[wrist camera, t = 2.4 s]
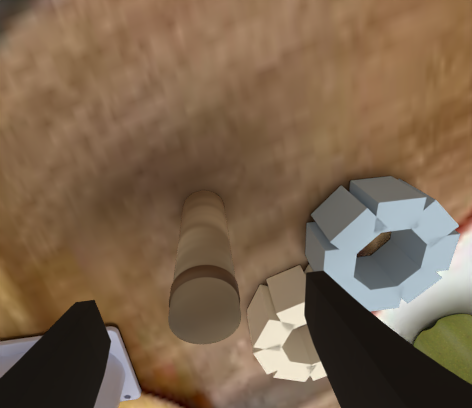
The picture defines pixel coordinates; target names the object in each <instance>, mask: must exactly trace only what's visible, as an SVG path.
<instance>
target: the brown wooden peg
mask: <svg viewBox="0 0 472 408" xmlns="http://www.w3.org/2000/svg"><path fill="white" fill-rule="evenodd" d="M169 308H170V310H169V318H168V322H169V326H170V329H171V330H172V332H173V333H174V334H175V335H176V336H177V337H179V338H180V339H182V340H184V341H186V342H189V343H194V344H211V343H215V342H219V341H221V340H223V339H225V338H227V337H229V336H230V335H231V334H233V333H234V332H235V330H236V329H237V328H238V326H239V324H240V321H241V312H240V296H239V290H238V284H237V281H236V279H235V273H234V266H233V260H232V253H231V247H230V240H229V234H228V227H227V221H226V214H225V208H224V203H223V201H222V199H221V198H220V197H219V196H218V195H217V194H215V193H213V192H211V191H197V192H195V193H193V194H191V195H190V196H189V197H188V198H187V199H186V200H185V202H184V205H183V212H182V220H181V227H180V235H179V242H178V250H177V257H176V265H175V273H174V280H173V284H172V286H171V292H170V299H169Z"/></svg>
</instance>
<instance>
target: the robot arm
mask: <svg viewBox="0 0 472 408" xmlns="http://www.w3.org/2000/svg"><path fill="white" fill-rule="evenodd" d="M304 316H305V319H306V323H307V326H308V329H309V332H310V336H311V339H312V342H313V345H314V347H315V349H316V352H317V354H318V356H319V359H320V361H321V363H322V365H323V368H324V370H325V372H326V375H327V377H328V379H329V381H330V384H331V386H332V388H333V391H334V393H335V395H336V397H337V400H338V402H339V404H340V406H341V408H472V384H470V383H468V382H467V381H465V380H464V379H462V378H460V377H459V376H457V375H456V374H454V373H453V372H451V371H449V370H448V369H446V368H445V367H443V366H442V365H440V364H439V363H438V362H436V361H435V360H433V359H432V358H430V357H429V356H427V355H426V354H424V353H423V352H421V351H420V350H418V349H417V348H416V347H414V346H413V345H412V344H410V343H409V342H408V341H406V340H405V339H404V338H402V337H401V336H400V335H398V334H397V333H396V332H394V331H393V330H392V329H391V328H389V327H388V326H387V325H386V324H384V323H383V322H382V321H381V320H379V319H378V318H377V317H376V316H375V315H373V314H372V313H371V312H370V311H369V310H367V309H366V308H365V307H364V306H363V305H361V304H360V303H359V302H358V301H357V300H356V299H355V298H353V297H352V296H351V295H350V294H349V293H348V292H347V291H346V290H345V289H343V288H342V287H341V286H340V285H339V284H338V283H337V282H336V281H335V280H334V279H333V278H331V277H330V276H329V275H328V274H327V273H326V272H325V271H315V272H307V273H306V287H305V307H304ZM140 395H141V389H140V386H139V384H138V381H137V378H136V376H135V373H134V370H133V368H132V365H131V362H130V360H129V357H128V354H127V352H126V349H125V346H124V344H123V341H122V338H121V336H120V333H119V330H118V329H117V328H115V327H113V326H109V327H105V325H104V322H103V320H102V317H101V315H100V312H99V310H98V307H97V305H96V303H95V300H90V301H82V302H76V303H75V304H74V305H73V306H71V307H70V308H69V309H68V310H67V311H66V312H65V313H64V314H63V315H62V316H61V318H60V319H59V320H58V321H57V322H56V323H55V324H54V325H53V326H52V327H51V328H50V329H49V330H48V331H47V332H46V333H45V334H44V335H43V336H36V337H29V338H22V339H14V340H7V341H0V408H118V407H119V402H121V401H127V400H134V399H138V398H139V397H140Z"/></svg>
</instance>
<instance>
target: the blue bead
mask: <svg viewBox="0 0 472 408" xmlns="http://www.w3.org/2000/svg"><path fill="white" fill-rule="evenodd" d="M311 216H312V217H313V219H314V220H315V221H316V222H309V223H307V226H306V248H305V256H306V258H307V260H308V262H309V264H310V266H311V268H312V269H313V271H314V272H315V271H325V272H326V273H327V274H328V275H329V276H330V277H331V278H333V279H334V280H335V281H336V282H337V283H338V284H339V285H340V286H341V287H342V288H343V289H345V290H346V291H347V292H348V293H349V294H350V295H351V296H352V297H353V298H355V299H356V300H357V301H358V302H359V303H360V304H361V305H363V306H364V307H365V308H366V309H367V310H369V311H377V310H384V309H391V308H398V307H399V304H400V300H401V298H402V299H403V300H404V301H405V302H407V303H409V302H411V301H412V300H413V299H415V298H416V297H417V296H419V295H420V294H421V293H423V292H424V291H425V290H427V289H428V288H429V287H431V286H432V285H433V284H434V283H436V282H437V281H438V280H440V279H441V278H442V277H441V276H440V275H439V274H438V273H437V272H436V271H444V270H448V269H449V266H450V263H451V260H452V257H453V254H454V251H455V248H456V245H457V242H458V239H459V236H460V233H458V232H457V231H455V229H456V228H457V227H458V226H459V225H458V224H457V223H456V222H455V221H454V220H453V218H452V217H451V216H450V215H449V214H448V213H447V212H446V211H445V210H444V208H443V207H442V206H441V205H440V204H439V203H438V202H437V201H436V200H435V199H433V198H432V197H430V196H428V195H427V194H425V193H423V192H421V191H420V190H418V189H416V188H415V187H413V186H411V185H409V184H408V183H406V182H404V181H403V180H401V179H398V180H397V179H395V178H394V177H392V176H387V177H378V178H369V179H360V180H351V181H350V189H349V192H348V191H347V190H346V189H345V188H344V187H343V186H342V185H341V186H340V187H339V188H338V189H337V190H336V191H335V192H333V193H332V194H331V195H330V196H329V197H328V198H327V199H326V200H325V201H324V202H323V203H322V204H321V205H320V206H319V207H318V208H317V209H316V210H315V211H314V212H313V213H312V214H311ZM389 231H392V232H391V237H390V240H389V241H387V242H386V243H385V244H384V245H383V246H382V247H380V248H379V249H378V250H377V251H376V252H374V253H373V254H372V255H371V256H364V257H357V253H358V252H359V251H360V250H362V249H363V248H364V247H365V246H366V245H367V244H368V243H370V242H371V241H372V240H373V239H374V238H375V237H377V236H378V235H379V234H380V233H381V232H389Z"/></svg>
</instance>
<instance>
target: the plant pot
mask: <svg viewBox="0 0 472 408" xmlns="http://www.w3.org/2000/svg"><path fill="white" fill-rule="evenodd" d="M413 346H414V347H416V348H417V349H418V350H420V351H421V352H423V353H424V354H426V355H427V356H429V357H430V358H432V359H433V360H435V361H436V362H438V363H439V364H440V365H442V366H443V367H445V368H446V369H448V370H449V371H451V372H453V373H454V374H456V375H457V376H459V377H460V378H462V379H464V380H465V381H467V382H468V383H470V384H472V315H469V314H455V315H450V316H447V317H444V318H442V319H439V320H438V321H437V323H436V324H435V326H434V327H432V328H431V329H429V330H424V331H422V332H421V333H420V334H419V335H418V337H417V338H416V340H415V342H414V345H413Z"/></svg>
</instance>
